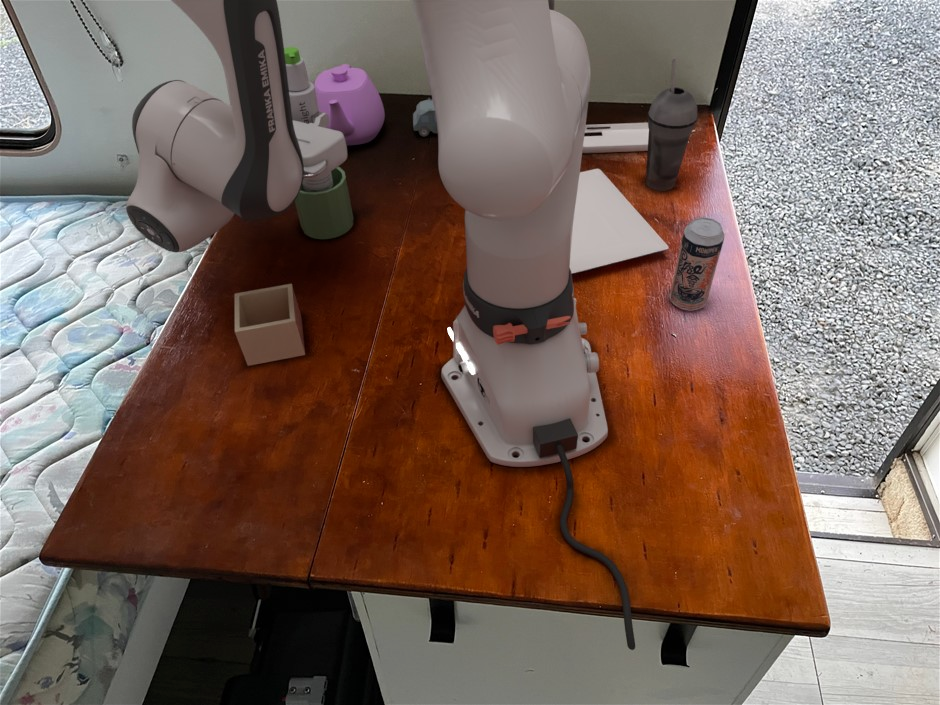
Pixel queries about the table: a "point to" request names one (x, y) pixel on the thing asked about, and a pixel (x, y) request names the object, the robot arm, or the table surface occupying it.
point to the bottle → (303, 106)
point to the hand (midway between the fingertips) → (307, 113)
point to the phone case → (617, 138)
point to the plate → (607, 226)
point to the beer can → (696, 263)
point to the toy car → (425, 118)
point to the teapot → (350, 103)
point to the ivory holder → (268, 324)
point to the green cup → (326, 209)
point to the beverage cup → (668, 134)
